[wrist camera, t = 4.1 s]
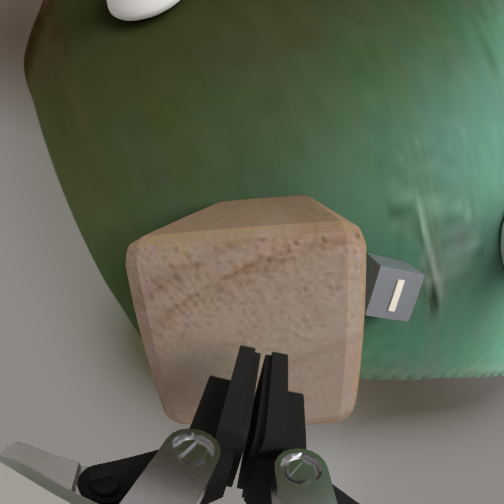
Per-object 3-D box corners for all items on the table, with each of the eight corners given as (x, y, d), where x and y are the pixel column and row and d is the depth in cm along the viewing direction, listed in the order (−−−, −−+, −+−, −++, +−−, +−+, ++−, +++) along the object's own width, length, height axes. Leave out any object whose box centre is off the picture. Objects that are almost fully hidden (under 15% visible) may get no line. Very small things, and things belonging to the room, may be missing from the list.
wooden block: (316, 288, 32) (357, 426, 13) (223, 294, 33) (163, 428, 14) (312, 193, 30) (373, 223, 10) (212, 201, 31) (111, 243, 11)
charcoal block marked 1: (405, 261, 30) (425, 275, 25) (392, 302, 32) (409, 322, 27) (366, 252, 31) (381, 266, 26) (353, 295, 32) (365, 316, 27)
